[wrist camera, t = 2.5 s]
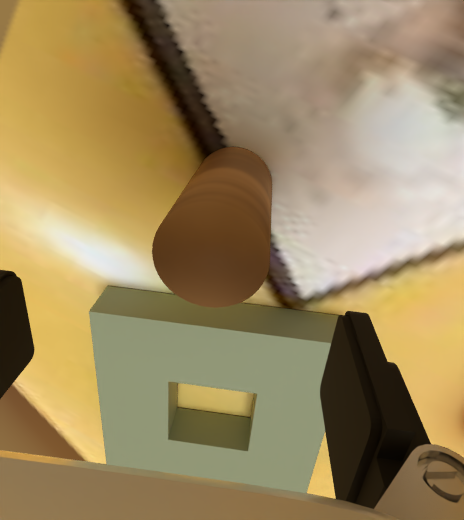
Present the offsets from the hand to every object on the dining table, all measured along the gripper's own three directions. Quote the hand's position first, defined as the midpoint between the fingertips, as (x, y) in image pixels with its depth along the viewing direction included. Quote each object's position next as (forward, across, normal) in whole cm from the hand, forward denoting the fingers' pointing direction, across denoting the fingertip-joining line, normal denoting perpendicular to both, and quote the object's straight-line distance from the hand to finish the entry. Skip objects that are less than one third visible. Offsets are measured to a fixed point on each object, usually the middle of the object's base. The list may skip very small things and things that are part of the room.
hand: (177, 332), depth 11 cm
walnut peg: (+13, -1, -1) cm, 13 cm away
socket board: (+13, -1, +15) cm, 20 cm away
